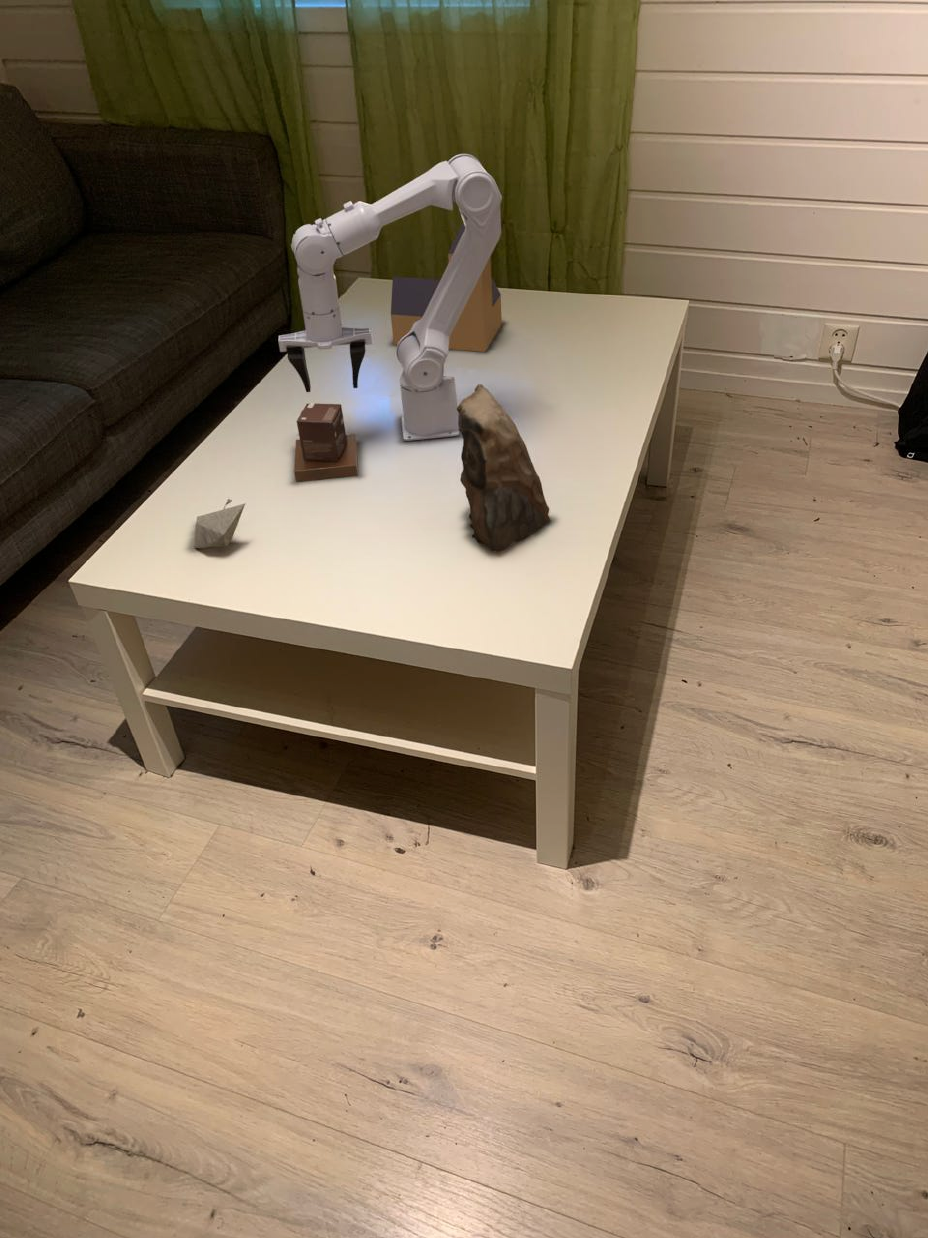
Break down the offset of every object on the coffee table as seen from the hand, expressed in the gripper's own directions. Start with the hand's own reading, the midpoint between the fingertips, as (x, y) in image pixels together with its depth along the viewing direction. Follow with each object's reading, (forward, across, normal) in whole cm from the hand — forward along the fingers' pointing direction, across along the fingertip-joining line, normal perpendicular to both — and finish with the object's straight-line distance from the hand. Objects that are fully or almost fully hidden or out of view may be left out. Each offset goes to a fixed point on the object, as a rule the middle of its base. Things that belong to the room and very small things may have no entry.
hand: (331, 387), depth 164 cm
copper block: (+10, -2, -6) cm, 12 cm away
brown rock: (+10, +25, -29) cm, 40 cm away
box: (+9, -2, -6) cm, 11 cm away
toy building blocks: (+10, +22, +38) cm, 45 cm away
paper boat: (+11, -18, -25) cm, 33 cm away
